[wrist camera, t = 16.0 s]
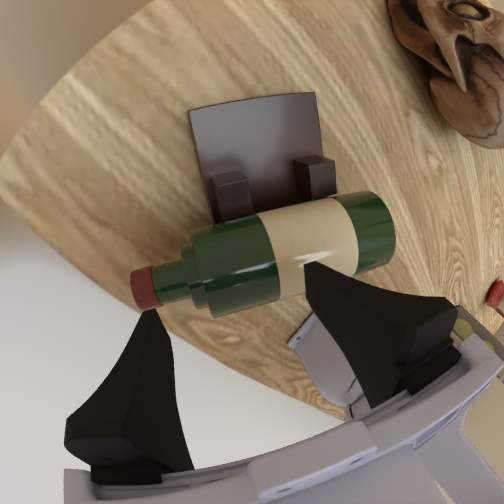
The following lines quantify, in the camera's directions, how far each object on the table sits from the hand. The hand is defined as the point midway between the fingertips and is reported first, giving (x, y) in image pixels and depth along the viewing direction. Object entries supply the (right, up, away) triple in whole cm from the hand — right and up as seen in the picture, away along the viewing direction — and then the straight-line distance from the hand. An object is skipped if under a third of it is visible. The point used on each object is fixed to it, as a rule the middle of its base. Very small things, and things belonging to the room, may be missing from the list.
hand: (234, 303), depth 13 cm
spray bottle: (+38, -9, +28) cm, 49 cm away
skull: (+19, +23, +5) cm, 31 cm away
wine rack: (+2, +6, +8) cm, 11 cm away
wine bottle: (+1, +3, +7) cm, 8 cm away
